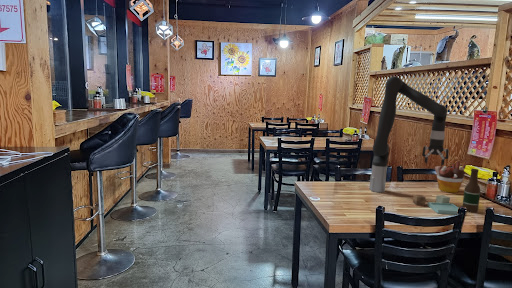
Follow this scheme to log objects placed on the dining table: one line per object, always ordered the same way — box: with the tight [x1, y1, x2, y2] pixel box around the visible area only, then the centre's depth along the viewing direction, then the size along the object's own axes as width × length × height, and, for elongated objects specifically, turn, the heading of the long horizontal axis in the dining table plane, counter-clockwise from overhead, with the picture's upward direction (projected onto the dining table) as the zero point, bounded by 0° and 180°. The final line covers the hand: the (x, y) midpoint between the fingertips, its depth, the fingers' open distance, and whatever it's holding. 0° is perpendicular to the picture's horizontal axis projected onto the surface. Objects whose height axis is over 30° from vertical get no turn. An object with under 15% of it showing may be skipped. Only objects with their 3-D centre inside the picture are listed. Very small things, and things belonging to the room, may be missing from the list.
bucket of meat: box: [434, 160, 467, 194], centre depth 236 cm, size 20×16×20 cm
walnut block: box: [412, 194, 426, 207], centre depth 205 cm, size 5×5×5 cm
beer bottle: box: [461, 168, 481, 214], centre depth 194 cm, size 8×8×24 cm
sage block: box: [435, 194, 451, 203], centre depth 206 cm, size 5×5×5 cm
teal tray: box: [426, 201, 460, 215], centre depth 196 cm, size 14×14×2 cm
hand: (434, 164), depth 213 cm, fingers open, 8 cm apart
